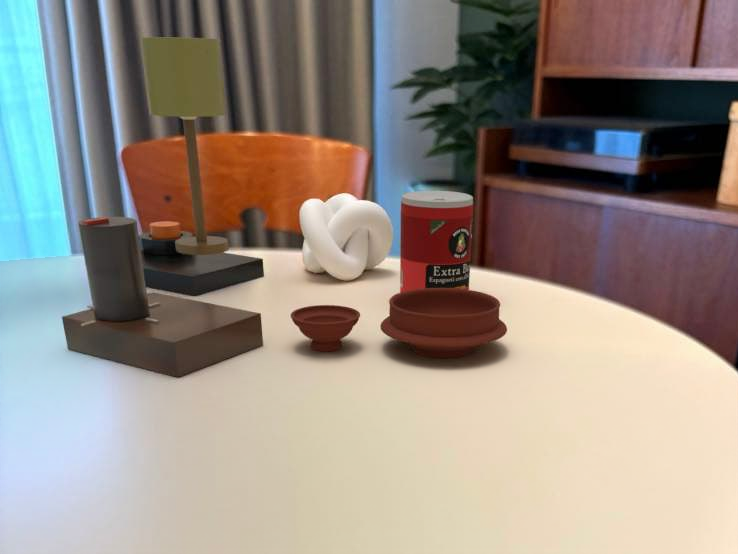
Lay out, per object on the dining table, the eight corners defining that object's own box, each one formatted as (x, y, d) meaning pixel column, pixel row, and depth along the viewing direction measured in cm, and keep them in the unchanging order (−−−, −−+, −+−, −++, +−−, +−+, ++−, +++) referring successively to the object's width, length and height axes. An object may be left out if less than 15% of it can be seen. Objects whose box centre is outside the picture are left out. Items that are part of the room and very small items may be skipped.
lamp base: (96, 278, 100) (90, 243, 98) (170, 260, 109) (166, 228, 107) (194, 297, 93) (190, 260, 91) (265, 276, 102) (263, 242, 100)
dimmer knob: (124, 304, 78) (109, 211, 74) (160, 312, 76) (147, 216, 72) (83, 315, 75) (65, 218, 70) (119, 324, 72) (103, 224, 68)
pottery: (511, 369, 73) (515, 319, 70) (284, 366, 73) (281, 316, 70) (499, 331, 83) (502, 286, 80) (300, 328, 83) (297, 283, 80)
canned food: (431, 313, 88) (435, 203, 83) (385, 298, 93) (385, 193, 88) (483, 302, 92) (489, 197, 87) (436, 288, 98) (439, 188, 92)
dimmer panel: (55, 350, 75) (47, 316, 74) (153, 321, 84) (149, 289, 83) (169, 380, 69) (164, 343, 67) (263, 345, 78) (260, 311, 76)
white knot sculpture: (361, 290, 96) (359, 208, 92) (273, 279, 101) (268, 200, 96) (401, 271, 105) (402, 195, 101) (319, 262, 110) (317, 189, 105)
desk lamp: (152, 251, 95) (123, 37, 84) (201, 240, 101) (180, 39, 90) (203, 259, 91) (180, 37, 81) (251, 248, 97) (235, 39, 86)
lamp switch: (145, 239, 103) (143, 224, 102) (166, 234, 106) (164, 220, 105) (166, 242, 101) (164, 227, 101) (187, 237, 104) (185, 223, 103)
